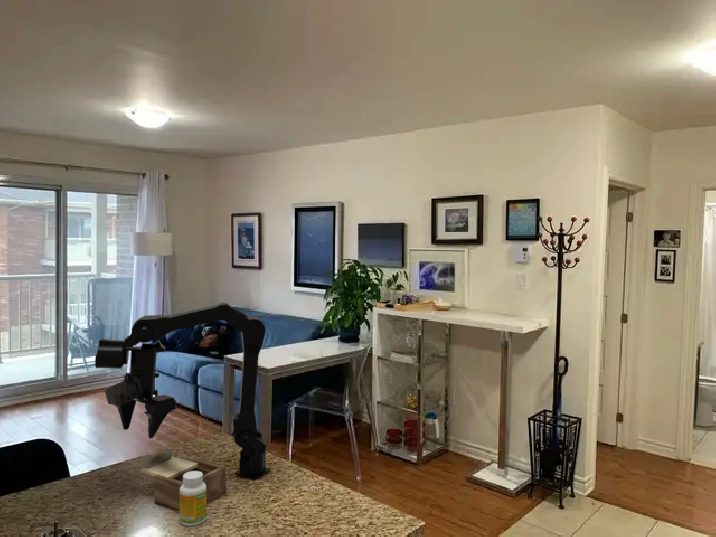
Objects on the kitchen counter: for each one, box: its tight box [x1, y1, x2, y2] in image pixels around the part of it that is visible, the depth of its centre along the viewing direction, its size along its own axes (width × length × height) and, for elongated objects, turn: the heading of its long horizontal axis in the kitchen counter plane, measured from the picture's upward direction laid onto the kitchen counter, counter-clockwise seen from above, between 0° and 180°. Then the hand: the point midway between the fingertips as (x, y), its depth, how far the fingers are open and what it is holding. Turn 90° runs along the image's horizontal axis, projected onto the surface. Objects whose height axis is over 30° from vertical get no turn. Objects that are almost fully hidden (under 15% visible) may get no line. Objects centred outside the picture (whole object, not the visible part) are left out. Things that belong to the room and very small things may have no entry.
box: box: [153, 458, 227, 513], centre depth 126 cm, size 12×10×6 cm
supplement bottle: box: [179, 471, 207, 527], centre depth 116 cm, size 5×5×10 cm
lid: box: [139, 450, 199, 479], centre depth 129 cm, size 9×9×2 cm
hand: (138, 433), depth 132 cm, fingers open, 9 cm apart
